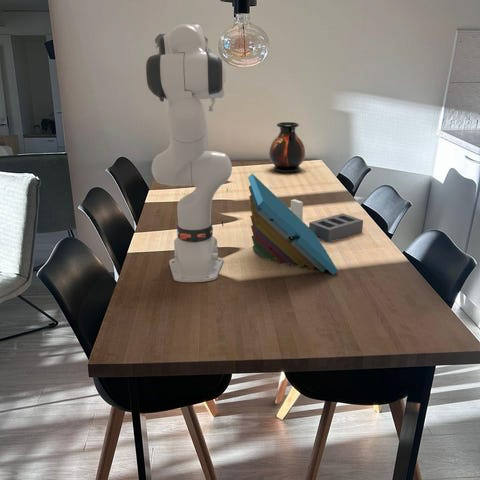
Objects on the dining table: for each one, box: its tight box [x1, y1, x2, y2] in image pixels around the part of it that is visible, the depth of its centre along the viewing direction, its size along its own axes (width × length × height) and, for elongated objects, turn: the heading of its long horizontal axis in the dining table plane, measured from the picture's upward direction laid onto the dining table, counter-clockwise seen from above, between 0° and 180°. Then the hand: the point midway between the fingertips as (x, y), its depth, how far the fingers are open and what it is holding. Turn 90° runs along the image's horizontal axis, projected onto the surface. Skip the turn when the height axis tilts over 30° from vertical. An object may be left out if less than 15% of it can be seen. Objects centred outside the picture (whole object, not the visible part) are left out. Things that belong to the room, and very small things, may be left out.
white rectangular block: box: [290, 198, 304, 221], centre depth 200 cm, size 5×2×12 cm, turn 35°
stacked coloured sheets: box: [247, 173, 339, 276], centre depth 174 cm, size 35×18×35 cm
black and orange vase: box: [268, 121, 306, 174], centre depth 292 cm, size 22×22×28 cm
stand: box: [308, 213, 364, 243], centre depth 196 cm, size 11×19×5 cm, turn 125°
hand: (198, 112), depth 184 cm, fingers open, 8 cm apart
